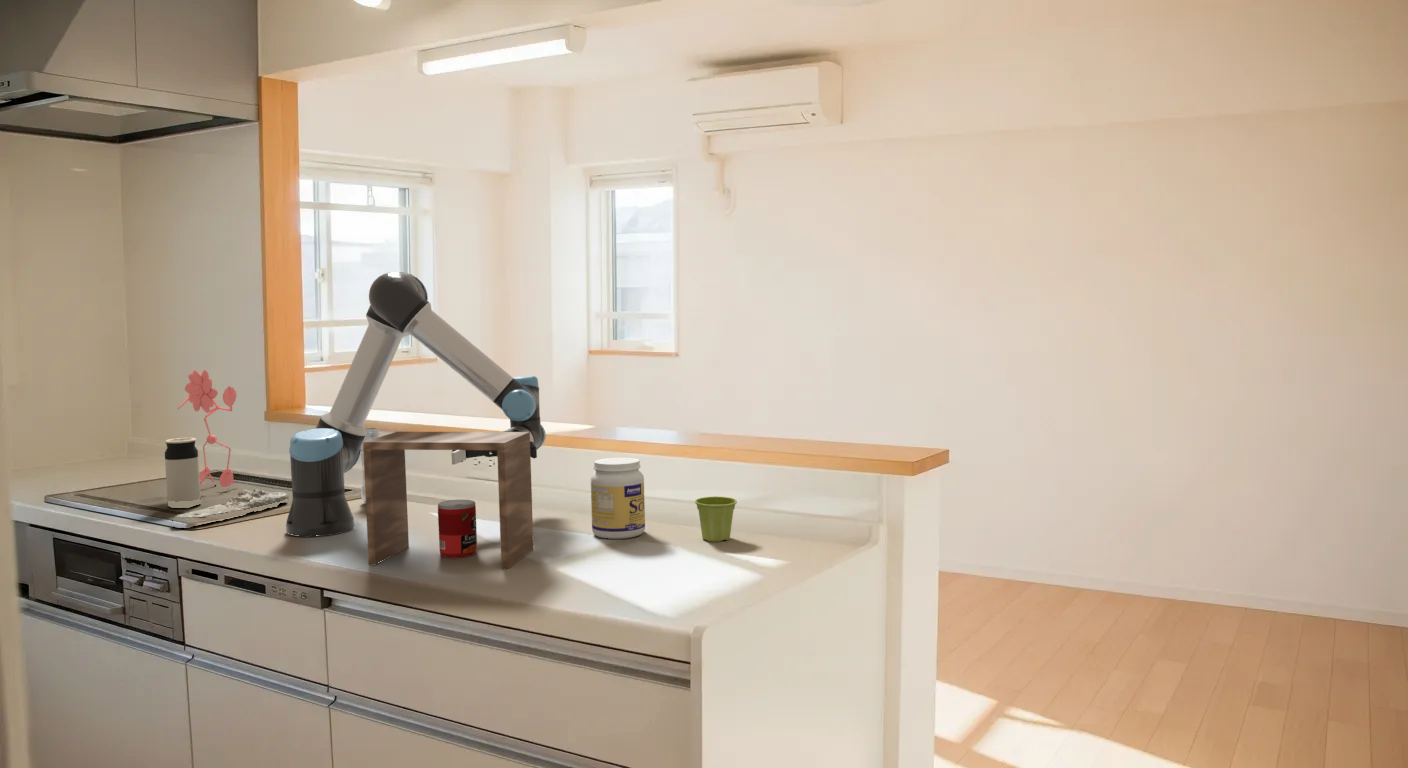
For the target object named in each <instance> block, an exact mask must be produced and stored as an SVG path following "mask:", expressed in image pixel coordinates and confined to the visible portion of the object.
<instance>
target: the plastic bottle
mask: <svg viewBox="0 0 1408 768" xmlns="http://www.w3.org/2000/svg"><path fill="white" fill-rule="evenodd" d="M364 428H365V430H366V436H365V438H364V441H363V442H365V441H368V440H372V439H375V438H378V437H379V436H380V429H379V427H364ZM359 457H360V459H361V467H362V482H361V485H362V486H361V490H360V496H361V500H362V501H363V503H364V504H366V495H365V473H364V452H363V443H362V445H361V452H360V456H359Z"/></svg>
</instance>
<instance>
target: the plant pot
mask: <svg viewBox="0 0 1408 768" xmlns="http://www.w3.org/2000/svg"><path fill="white" fill-rule="evenodd" d="M694 503H695V504H696V508H697V511H698V515H699V516H698V517H699V522H700V530H701V537H702V539H703V540H706V541H707V542H711V543H712V542H715V543H716V542H723V541H728V540H730V539H731V535H732V534H731V532H732V525H733V515H734V510H735V507H736V504H737V503H738V500H737V499H736V498H733V497H727V496H716V495H715V496H704V497H700V498H696V499H695V500H694Z"/></svg>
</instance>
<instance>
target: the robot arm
mask: <svg viewBox="0 0 1408 768" xmlns="http://www.w3.org/2000/svg"><path fill="white" fill-rule="evenodd" d="M368 291H369V293H368V300H369V304H370V305H369V307H368V310H367V312H366V313H365V317H366V319H367V321H368V326H367V328H366V330H365V332H364V335H363V337H362V339H361V342H359V346H358V348H357V350H356V353H355V355H354V357H353V359H352V362H351V364H350V366H349V368H348V370H347V373H346V375H345V377H344V380H343V382H342V384H341V386H340V389H339V391H338V393H337V395H336V398H335V400H334V403H333V404H332V407H331V409H330V411H329V412H326V413H325V414H322V415H320V418H319V420H318V423H317V424H316V426H315V428H312V429H306V430H303V431H299V432H297V433H294V434H293V435H292V437H291V438H290V441H289V452H288V453H289V457H290V458H289V459H290V473H291V474H290V475H291V489H292V490H291V491H292V492H291V493H292V502H291V505H290V509H289V512H288V516H287V519H286V523H285V530H286V532H287V533H289V534H293V535H299V536H298V537H303V536H310V537H317V536H316V535H325V536H331V535H330V534H332V535H337V534H336V533H338V534H341V532H342V533H345V531H346V532H349V531H351V530H352V528H353V529H354V527H355V520H354V515H353V513H352V511H351V509H350V506H349V503H348V500H347V498H346V495H345V475H344V474H346V473H347V472H349V471H350V470H351V469H353V467H354V466H355V465H356V464H357V462H358V461H359V459H360V457H361V456H360V452H361V445H362V443H363V441H364V439H365V436H366V430H365V428H366V427H365V423H366V420H367V418H368V416H369V414H370V411H371V410H372V407H373V405H374V402H375V400H376V398H377V395H379V391H380V388H381V386H382V384H383V382H384V380H385V378H386V375H387V373H388V371H389V368H390V366H391V364H392V362H393V359H394V358H395V355H396V353H397V351H398V349H399V346H400V344H401V342H402V339H404V338H405V337H408V336H412V337H413V338H414V339H416V340H417V341H418V342H419V343H420V344H422V345H423V346H424V347H426V349H428V351H431V353H433V354H434V355H436V357H438V358H439V359H440V360H441V361H442V362H443V363H445V364H446V365H447V366H448V367H450V368H451V369H452V370H454V372H456V373H457V374H458V375H460V376H461V377H462V378H463V379H465V380H466V381H467V382H468V383H470V384H471V386H473V388H474V387H475V389H477V390H478V391H479V392H481V394H483V395H484V396H485V397H487V398H488V399H489V400H490V401H491V402H493V403H494V404H495V406H497V407H498V408H499V409H500V410H502V411H503V413H504V415H505V416H506V417H507V418H508V419H509V425H510V428H508V429H507V430H503V431H502V432H530V456H531V459H537V458H538V453H537V452H538V451H537V450H538V449H540V448H541V447H542V446H543V445H544V444H545V441H546V437H547V436H546V435H547V434H546V429H545V428H544V427H543V425H542V423H541V416H540V414H541V412H540V387H539V386H540V385H539V379H538V377H536V376H534V375H517V376H512V375H510V374H509V372H507V371H505V370H504V369H503V368H502V367H501V366H500V365H498V364H497V363H496V362H495V361H494V360H493V359H491V358H490V357H488V356H487V355H486V354H485V353H484V352H482V350H480V349H479V348H478V347H476V345H474V344H473V343H472V342H471V341H470V340H469V339H467V338H466V337H465V336H463V335H462V334H461V333H460V332H458V331H457V330H456V329H455V328H454V327H452V325H450V324H449V323H448V322H447V321H446V320H444V319H443V318H442V317H441V316H440V315H438V314H437V313H436V312H435V311H434V310H433V309H432V303H431V302H429V297H428V296H429V295H428V291H427V288H426V287H425V285H424V283H423V282H422V281H421V280H420V279H419V277H417V276H414V275H413V274H410V273H408V272H403V271H401V272H397V271H395V272H394V271H391V272H386V273H383V274H381V275H379V276H378V277H377V278H376V279H374V281H373V282H372V284H371V285H370V288H369V290H368ZM477 457H486V458H493V457H497V450H451V465H457V464H460V463H464V461H467V459H470V458H477ZM497 458H498V457H497ZM348 530H349V531H348ZM287 533H286V534H287ZM289 534H288V535H289Z"/></svg>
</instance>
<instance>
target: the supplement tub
mask: <svg viewBox="0 0 1408 768" xmlns="http://www.w3.org/2000/svg"><path fill="white" fill-rule="evenodd" d="M640 462H641V460H640V459H638V458H635V457H606V458H605V457H604V458H601V459H596V460H594V461H593V463H594V464H593V470H595V471H594V472H593V474H592V475H591V477H590V499H591V501H590V503H591V504H590V506H591V531H592V533H593V534H594V535H595V536H596V537H599V538H601V539H607V538H608V540H609V539H610V540H619V539H622V540H623V539H631V538H635V537H638V536H639V537H640V536H641V535H642V534H643V533H644V532H645V530H646V515H645V514H646V512H645V511H646V510H645V509H646V507H645V506H646V505H645V504H646V503H645V477H644V474H643V472H641V471H640V468H641V464H640Z"/></svg>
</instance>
